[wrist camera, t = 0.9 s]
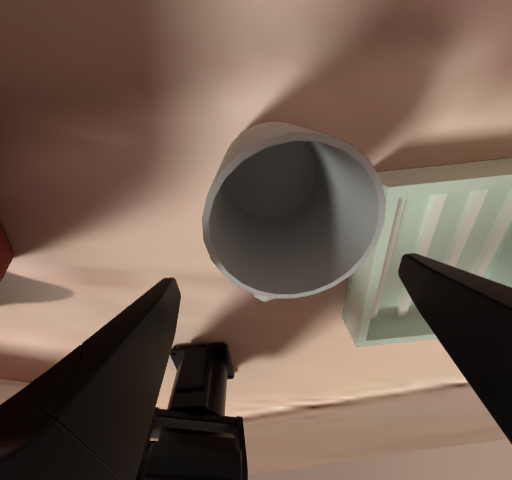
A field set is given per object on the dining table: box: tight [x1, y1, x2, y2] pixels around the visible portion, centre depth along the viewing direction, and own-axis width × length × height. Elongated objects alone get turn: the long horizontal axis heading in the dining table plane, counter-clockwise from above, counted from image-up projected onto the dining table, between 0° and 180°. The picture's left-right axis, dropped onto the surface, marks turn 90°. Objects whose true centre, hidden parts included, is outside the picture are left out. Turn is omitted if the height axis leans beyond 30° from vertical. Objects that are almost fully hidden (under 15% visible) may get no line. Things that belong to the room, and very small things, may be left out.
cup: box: [202, 121, 386, 302], centre depth 14 cm, size 7×10×9 cm
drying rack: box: [342, 158, 512, 347], centre depth 19 cm, size 16×14×4 cm
